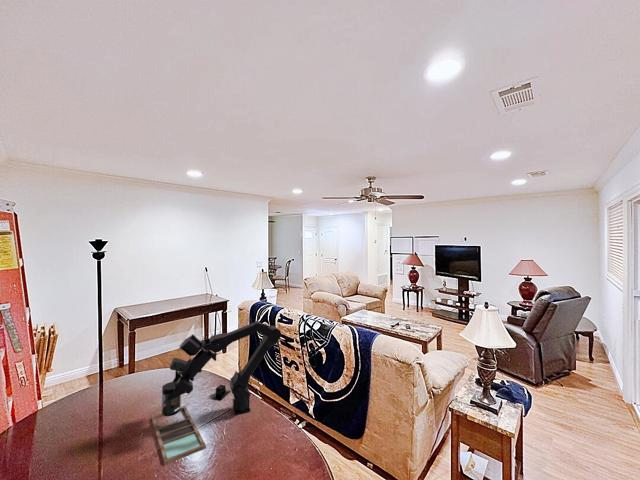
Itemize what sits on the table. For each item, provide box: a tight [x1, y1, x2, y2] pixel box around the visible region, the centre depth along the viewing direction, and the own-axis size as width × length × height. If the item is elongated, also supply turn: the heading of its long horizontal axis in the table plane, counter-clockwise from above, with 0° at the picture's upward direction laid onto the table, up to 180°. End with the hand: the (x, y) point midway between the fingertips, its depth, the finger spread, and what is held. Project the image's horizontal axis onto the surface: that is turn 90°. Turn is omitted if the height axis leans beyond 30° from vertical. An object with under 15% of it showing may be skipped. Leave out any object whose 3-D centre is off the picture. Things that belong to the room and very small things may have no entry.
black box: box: [210, 384, 231, 402], centre depth 136 cm, size 12×7×5 cm, turn 169°
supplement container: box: [161, 381, 182, 417], centre depth 112 cm, size 7×7×10 cm
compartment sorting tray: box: [150, 406, 207, 466], centre depth 108 cm, size 31×13×1 cm, turn 38°
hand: (167, 395), depth 111 cm, fingers closed on supplement container, 7 cm apart
